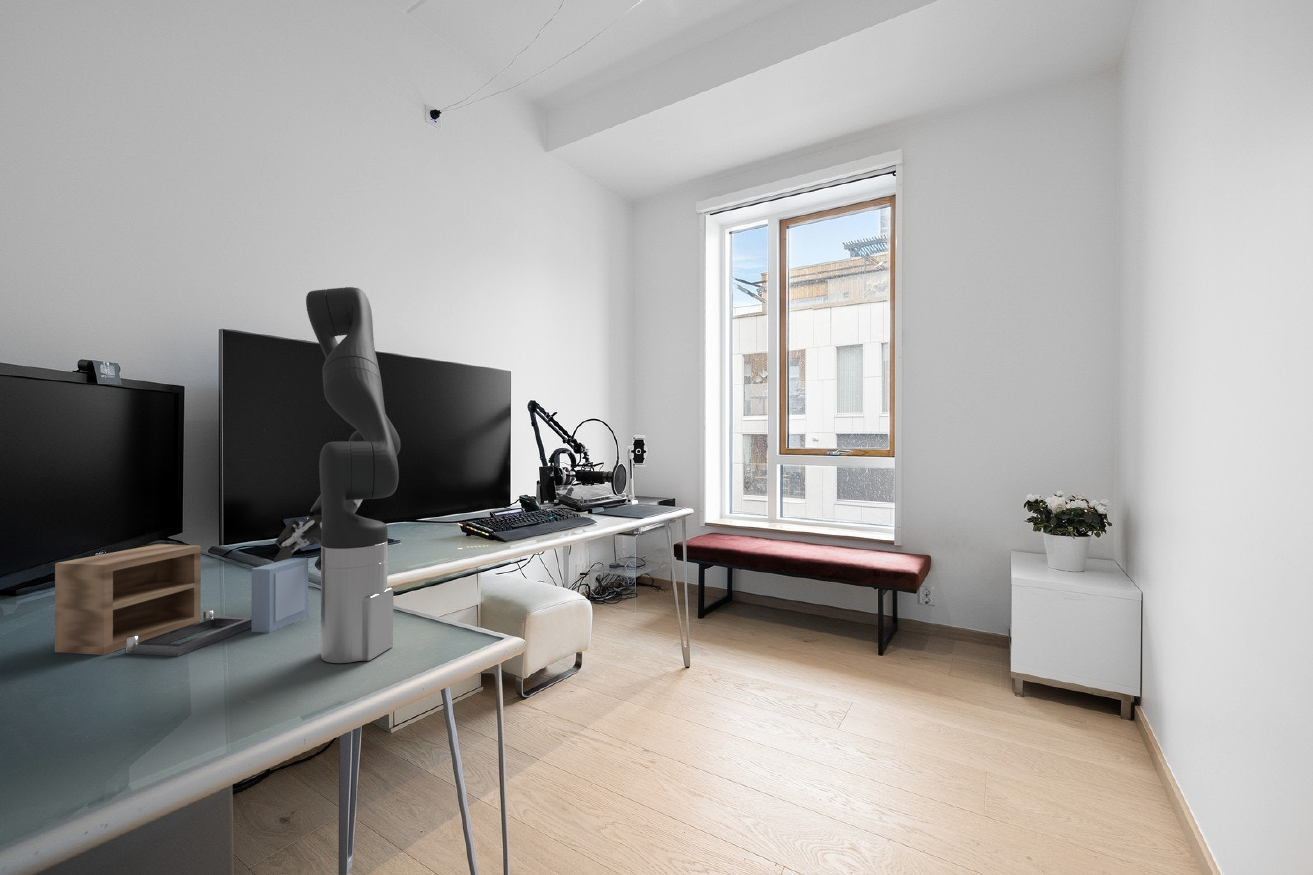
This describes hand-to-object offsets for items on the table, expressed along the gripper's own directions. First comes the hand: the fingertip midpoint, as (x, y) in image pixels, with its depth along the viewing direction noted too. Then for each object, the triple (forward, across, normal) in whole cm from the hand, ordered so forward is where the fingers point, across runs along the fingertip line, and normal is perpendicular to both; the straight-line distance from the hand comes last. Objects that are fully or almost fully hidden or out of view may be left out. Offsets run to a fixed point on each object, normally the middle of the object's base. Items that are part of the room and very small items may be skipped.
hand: (298, 567), depth 106 cm
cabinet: (+16, -20, -3) cm, 26 cm away
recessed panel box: (+9, 0, +4) cm, 10 cm away
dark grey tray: (+16, -8, -3) cm, 18 cm away
